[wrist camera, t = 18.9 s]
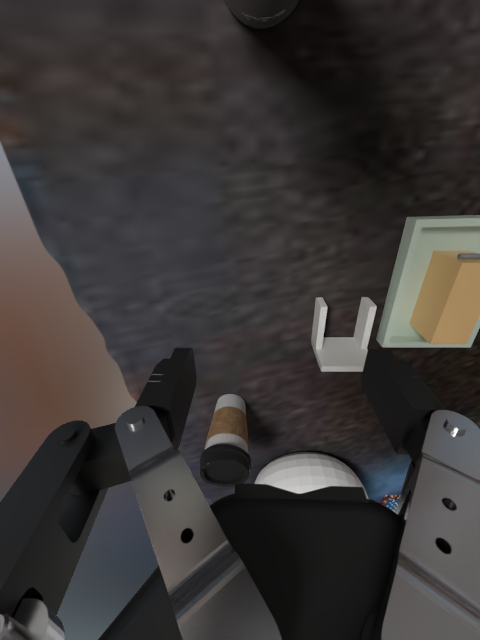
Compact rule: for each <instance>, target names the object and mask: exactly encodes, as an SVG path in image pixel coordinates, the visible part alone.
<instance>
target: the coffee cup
mask: <svg viewBox="0 0 480 640" xmlns="http://www.w3.org/2000/svg"><path fill="white" fill-rule="evenodd" d="M248 452H249V443H248V431H247V420H246V407H245V402H244V400H243V399H242V398H241V397H240V396H238V395H235V394H226V395H223V396H221V397H220V398H219V399H218V401H217V405H216V408H215V412H214V416H213V419H212V422H211V426H210V429H209V433H208V436H207V440H206V443H205V450H204V451H203V453H202V454H201V459H200V475H201V478H202V479H203V480H204V481H205V482H207V483H210V484H213V485H217V486H235V483H240V484H242V483H243V482H245V481H246V480H247V478H248V476H249V470H250V468H251V458H250V456H249V454H248Z"/></svg>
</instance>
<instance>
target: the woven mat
mask: <svg viewBox="0 0 480 640" xmlns="http://www.w3.org/2000/svg"><path fill="white" fill-rule="evenodd" d="M387 496H388V495H385V497H384V499H383V500H382V501H383V502H382V503H381V505H383V506H385V507H387V508H389V509H390V510H392V511H393V512H395V511H396V508H397V505H398V502H399V499H400V496H401V495H399V496H397V495H395V496H394V497H393V495H390V496H389V497H387ZM396 496H397V497H396Z"/></svg>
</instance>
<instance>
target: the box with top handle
mask: <svg viewBox="0 0 480 640" xmlns="http://www.w3.org/2000/svg"><path fill="white" fill-rule="evenodd" d="M479 316H480V253H475V252H472V251H433V254H432V257H431V260H430V263H429V266H428V269H427V272H426V275H425V278H424V281H423V284H422V287H421V290H420V293H419V296H418V299H417V302H416V305H415V308H414V311H413V314H412V317H411V320H410V323H409V324H410V325H411V326H412V327H413V328H414V329H415V330H416V331H417V332H418V333H419V334H420V335H421V336H423V337H424V338H425V339H426V340H427V341H428V342H429V343H430V344H467V341H468V339H469V337H470V335H471V333H472V331H473V329H474V327H475V325H476V322H477V320H478V318H479Z"/></svg>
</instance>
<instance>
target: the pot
mask: <svg viewBox="0 0 480 640" xmlns="http://www.w3.org/2000/svg"><path fill="white" fill-rule="evenodd" d="M255 484H267V485H270V486H274V487H277V488H280V489H284V490H287V491H290V492H294V493H298V494H302V493H306V492H310V491H314V490H318V489H321V488H325V487H329V486H346V487H363V490H364V493H365V495H366V498H367V499H369V498H368V495H367V493H366V490H365V488H364V486H363V485H362V483H361V481H360V480H359V478H358V477H357V476H356V474H355V473H354V472H353V471H352V470H351V469H350V468H349V467H348V466H347V465H346V464H345V463H343V462H341V461H340V460H338V459H336V458H334V457H332V456H329V455H326V454H323V453H317V452H295V453H291V454H286V455H283V456H281V457H278V458H276V459H274V460H273V461H271V462H270V463H269V464H267V465H266V466H265V467H264V468H263V469H262V470H261V472H260V473H259V474H258V477H257V479H256V481H255Z"/></svg>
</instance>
